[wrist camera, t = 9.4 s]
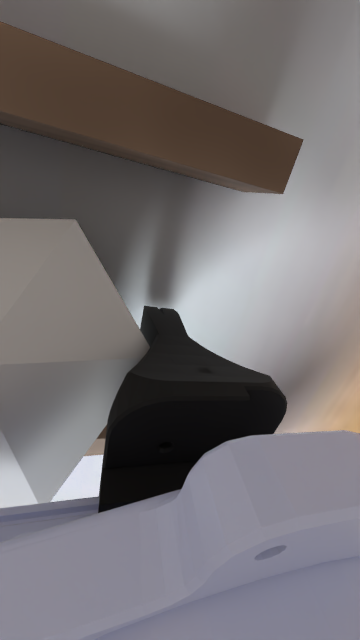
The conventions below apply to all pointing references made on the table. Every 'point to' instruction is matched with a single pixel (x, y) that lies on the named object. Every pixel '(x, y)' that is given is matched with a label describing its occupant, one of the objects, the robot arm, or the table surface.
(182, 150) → the wooden tray
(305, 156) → the table surface
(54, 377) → the die
